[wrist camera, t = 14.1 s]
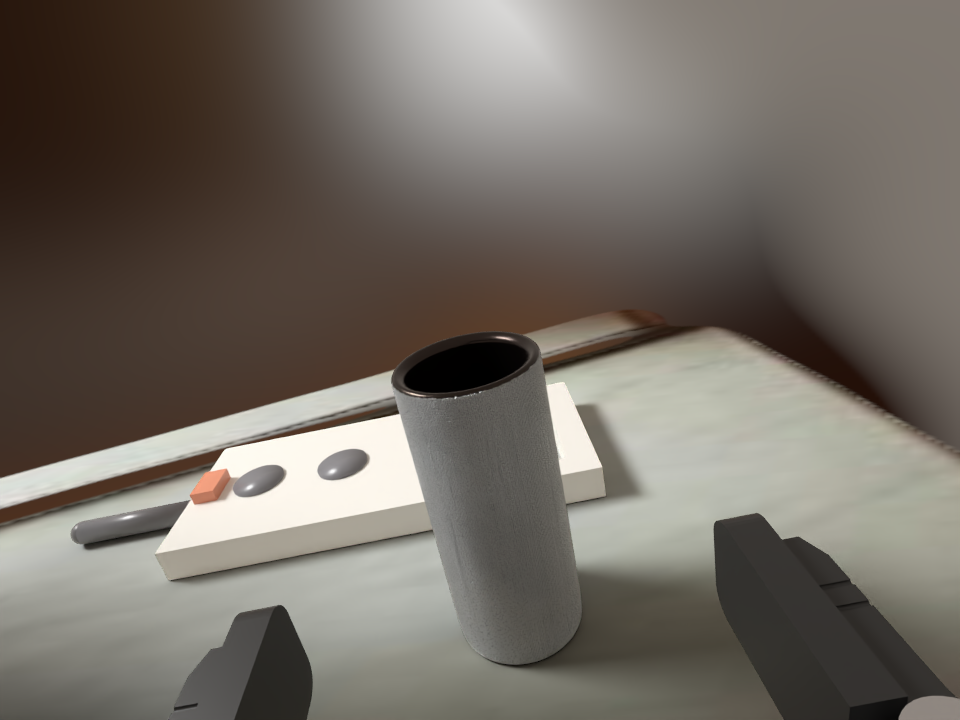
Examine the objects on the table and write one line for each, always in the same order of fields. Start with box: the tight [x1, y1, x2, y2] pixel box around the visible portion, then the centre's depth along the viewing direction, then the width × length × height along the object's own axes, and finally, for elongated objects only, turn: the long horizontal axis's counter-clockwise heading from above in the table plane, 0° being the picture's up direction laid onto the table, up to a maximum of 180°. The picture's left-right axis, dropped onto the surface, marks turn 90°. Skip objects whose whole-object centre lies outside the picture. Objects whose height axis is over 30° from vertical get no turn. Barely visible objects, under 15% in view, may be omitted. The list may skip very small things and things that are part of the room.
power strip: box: [71, 382, 606, 580], centre depth 30 cm, size 28×9×2 cm, turn 93°
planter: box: [391, 331, 582, 665], centre depth 19 cm, size 4×4×10 cm
